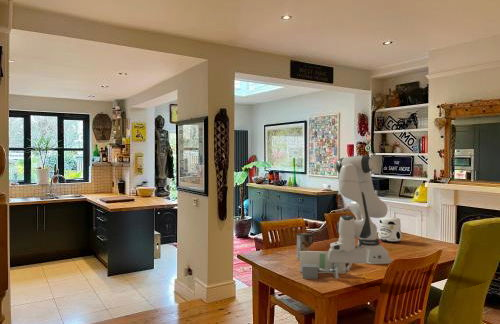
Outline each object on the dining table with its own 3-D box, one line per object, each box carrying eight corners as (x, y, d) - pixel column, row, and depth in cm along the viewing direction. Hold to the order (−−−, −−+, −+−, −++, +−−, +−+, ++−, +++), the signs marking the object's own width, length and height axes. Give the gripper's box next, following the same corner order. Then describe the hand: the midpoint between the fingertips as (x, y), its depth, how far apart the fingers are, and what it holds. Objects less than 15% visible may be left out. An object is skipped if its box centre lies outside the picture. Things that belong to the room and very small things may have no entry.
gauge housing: (344, 273, 212) (345, 252, 211) (348, 279, 200) (349, 257, 199) (299, 271, 213) (299, 250, 213) (300, 278, 201) (301, 256, 201)
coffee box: (309, 256, 246) (309, 232, 246) (313, 259, 240) (313, 234, 239) (296, 257, 243) (296, 233, 243) (300, 260, 237) (300, 235, 237)
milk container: (378, 242, 288) (378, 219, 288) (377, 238, 305) (378, 216, 305) (402, 244, 283) (402, 220, 283) (400, 239, 300) (400, 217, 300)
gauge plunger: (334, 272, 210) (334, 254, 210) (338, 279, 199) (338, 260, 198) (314, 271, 211) (314, 253, 211) (316, 278, 199) (316, 259, 199)
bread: (331, 258, 242) (331, 236, 241) (348, 263, 232) (348, 239, 232) (306, 266, 225) (306, 241, 225) (322, 271, 216) (323, 245, 216)
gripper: (364, 244, 204) (364, 269, 204) (327, 243, 206) (327, 268, 206) (367, 247, 198) (367, 273, 198) (328, 246, 199) (328, 272, 200)
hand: (346, 270), depth 202 cm, fingers closed
